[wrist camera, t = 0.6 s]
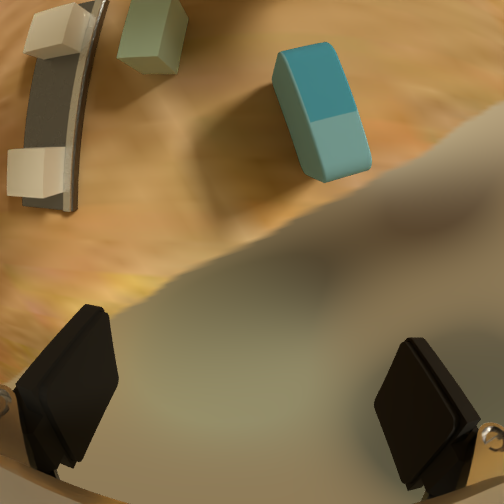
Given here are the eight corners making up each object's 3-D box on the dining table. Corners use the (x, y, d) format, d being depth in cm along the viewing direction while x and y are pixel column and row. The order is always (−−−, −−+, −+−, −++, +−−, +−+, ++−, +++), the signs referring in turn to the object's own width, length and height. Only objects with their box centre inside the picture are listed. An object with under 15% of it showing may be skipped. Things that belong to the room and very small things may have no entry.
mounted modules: (53, 23, 26) (34, 14, 21) (92, 14, 26) (74, 2, 22) (29, 189, 34) (6, 195, 29) (64, 191, 34) (43, 198, 29)
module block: (154, 19, 28) (133, -6, 21) (188, 18, 28) (173, -10, 21) (142, 74, 31) (116, 58, 23) (177, 74, 31) (157, 56, 23)
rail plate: (54, 13, 26) (48, 10, 25) (109, 1, 27) (104, -3, 25) (27, 204, 36) (20, 206, 34) (77, 209, 36) (71, 212, 34)
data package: (338, 164, 34) (376, 171, 23) (303, 174, 35) (326, 185, 23) (306, 70, 31) (330, 36, 19) (270, 80, 31) (278, 47, 20)
